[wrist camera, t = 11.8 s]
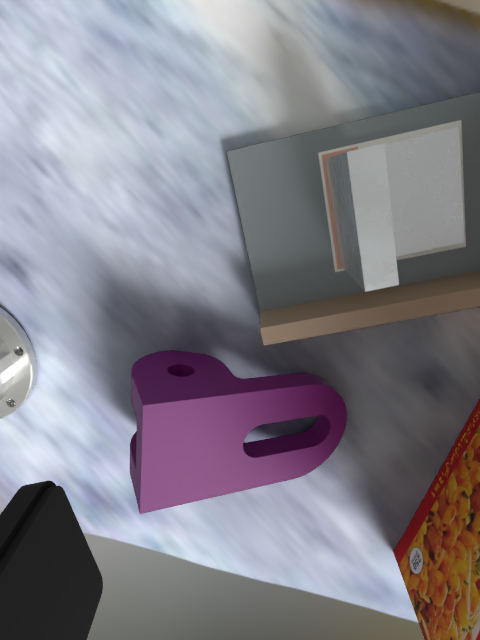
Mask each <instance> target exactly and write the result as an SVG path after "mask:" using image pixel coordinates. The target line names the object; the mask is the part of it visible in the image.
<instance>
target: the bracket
mask: <svg viewBox="0 0 480 640" xmlns="http://www.w3.org/2000/svg"><path fill="white" fill-rule="evenodd" d="M325 166H326V173H327V180H328V186H329V193H330V200H331V207H332V213H333V220H334V227H335V234H336V240H337V247H338V254H339V260H340V266H341V267H342V268H343V269H344V270H345V271H346V272H347V273H348V274H349V275H350V276H351V277H352V278H353V279H354V280H355V281H356V282H357V284H358V285H359V286H360V287H361V288H362V289H363V290H364V291H365V292H366V291H371V290H376V289H381V288H386V287H391V286H396V285H399V280H398V270H397V260H396V257H397V256H402V255H407V254H411V253H416V252H421V251H426V250H431V249H436V248H440V247H445V246H450V245H455V244H460V243H464V242H465V241H464V221H463V200H462V180H461V160H460V140H459V127H455V128H451V129H447V130H442V131H438V132H434V133H430V134H426V135H422V136H417V137H413V138H409V139H405V140H401V141H397V142H392V143H388V144H384V143H382V144H378V145H374V146H370V147H366V148H361V149H357V150H353V151H349V152H345V153H342V154H339V155H335V156H332V157H329V158H326V159H325Z"/></svg>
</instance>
